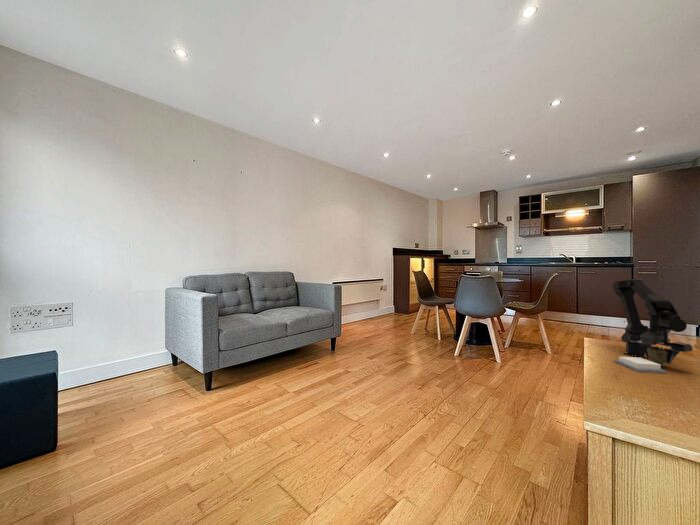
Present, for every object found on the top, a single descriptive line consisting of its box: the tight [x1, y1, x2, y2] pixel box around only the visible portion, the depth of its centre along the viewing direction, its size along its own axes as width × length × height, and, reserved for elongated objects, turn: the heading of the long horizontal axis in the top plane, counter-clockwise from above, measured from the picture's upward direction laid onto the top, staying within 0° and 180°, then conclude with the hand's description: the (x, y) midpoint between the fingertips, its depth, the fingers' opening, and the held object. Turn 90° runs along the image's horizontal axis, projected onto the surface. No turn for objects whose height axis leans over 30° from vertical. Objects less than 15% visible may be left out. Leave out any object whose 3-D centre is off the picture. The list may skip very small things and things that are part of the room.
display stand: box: [613, 356, 668, 374], centre depth 121 cm, size 12×11×3 cm
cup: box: [647, 345, 668, 367], centre depth 123 cm, size 8×7×8 cm
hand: (658, 361), depth 123 cm, fingers closed on cup, 6 cm apart
